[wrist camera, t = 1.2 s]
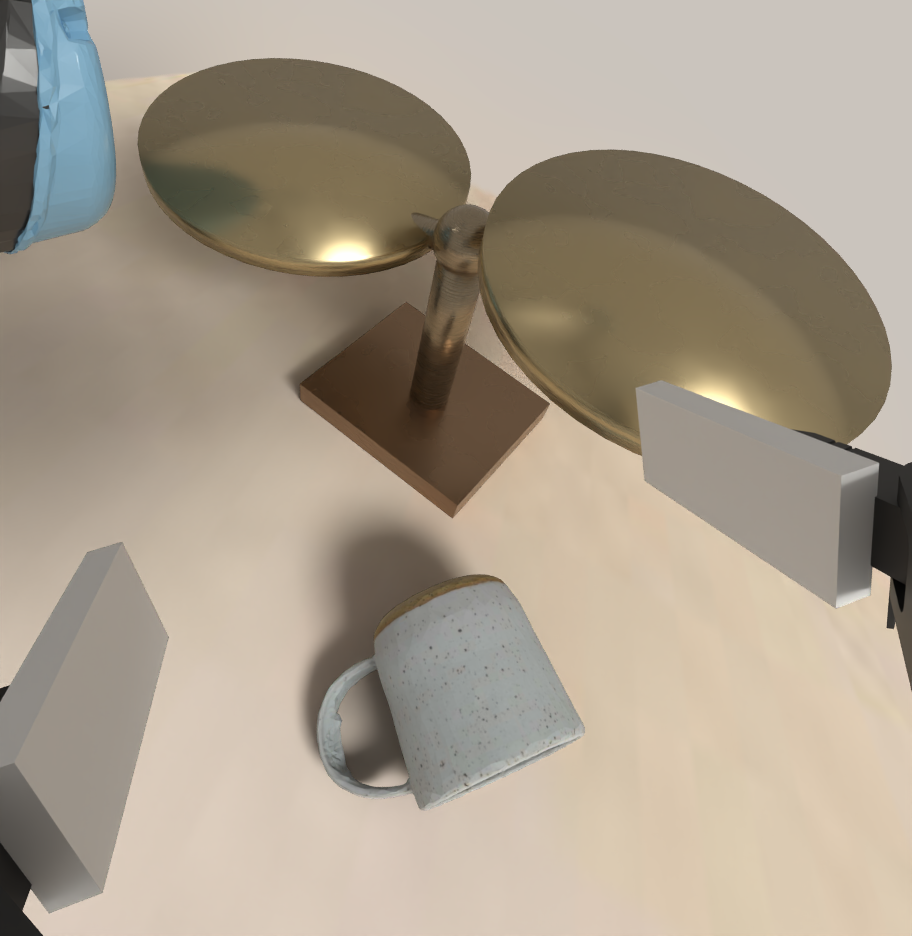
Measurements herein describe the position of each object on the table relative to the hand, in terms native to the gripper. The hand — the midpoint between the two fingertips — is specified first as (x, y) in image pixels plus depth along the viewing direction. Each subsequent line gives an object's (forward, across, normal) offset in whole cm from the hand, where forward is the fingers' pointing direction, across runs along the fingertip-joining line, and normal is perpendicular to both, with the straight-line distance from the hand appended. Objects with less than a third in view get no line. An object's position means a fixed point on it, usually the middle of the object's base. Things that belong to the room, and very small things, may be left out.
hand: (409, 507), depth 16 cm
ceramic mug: (+10, -1, -16) cm, 19 cm away
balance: (+24, +5, -5) cm, 25 cm away
